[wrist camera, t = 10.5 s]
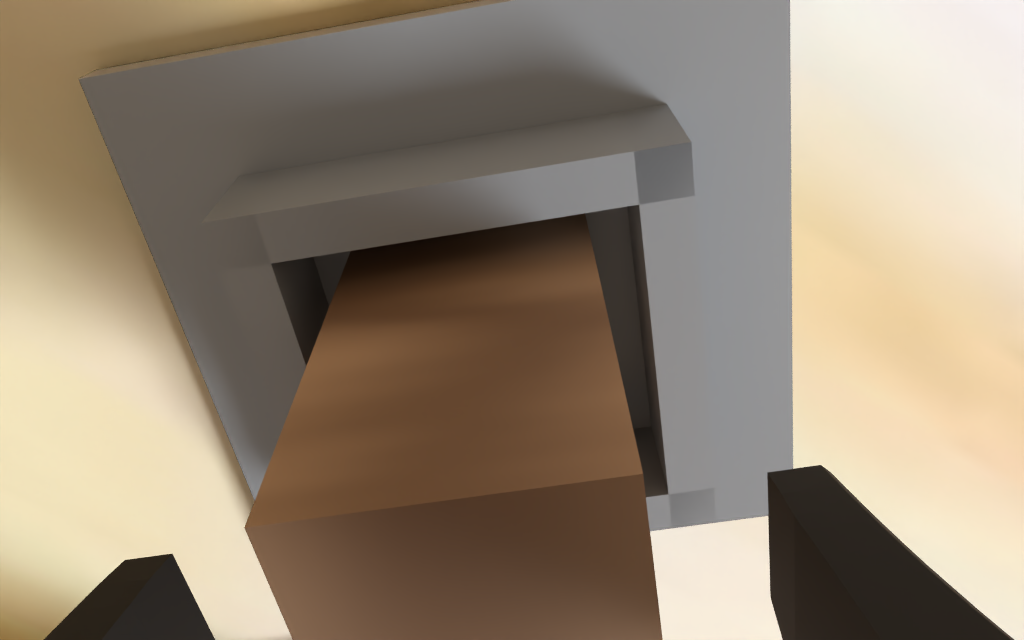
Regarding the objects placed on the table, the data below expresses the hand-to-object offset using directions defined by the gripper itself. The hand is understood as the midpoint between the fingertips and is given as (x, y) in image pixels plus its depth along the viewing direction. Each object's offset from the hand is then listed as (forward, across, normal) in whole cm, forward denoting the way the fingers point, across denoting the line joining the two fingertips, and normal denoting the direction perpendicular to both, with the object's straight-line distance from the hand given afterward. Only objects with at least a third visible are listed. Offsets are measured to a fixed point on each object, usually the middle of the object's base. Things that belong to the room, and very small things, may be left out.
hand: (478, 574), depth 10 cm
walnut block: (+6, 0, 0) cm, 6 cm away
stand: (+7, 0, 0) cm, 7 cm away
